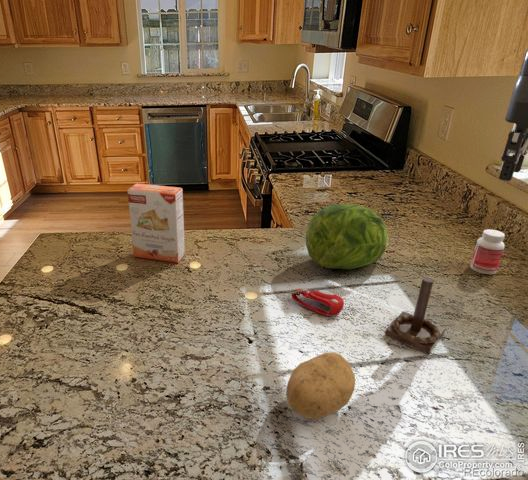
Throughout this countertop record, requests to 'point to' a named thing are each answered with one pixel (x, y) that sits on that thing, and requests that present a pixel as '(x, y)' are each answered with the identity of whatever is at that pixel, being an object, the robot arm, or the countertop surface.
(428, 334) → the post
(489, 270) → the pill bottle
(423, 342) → the ring
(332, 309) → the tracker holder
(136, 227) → the cracker box
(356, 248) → the lettuce
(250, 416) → the countertop surface
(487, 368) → the countertop surface
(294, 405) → the potato
